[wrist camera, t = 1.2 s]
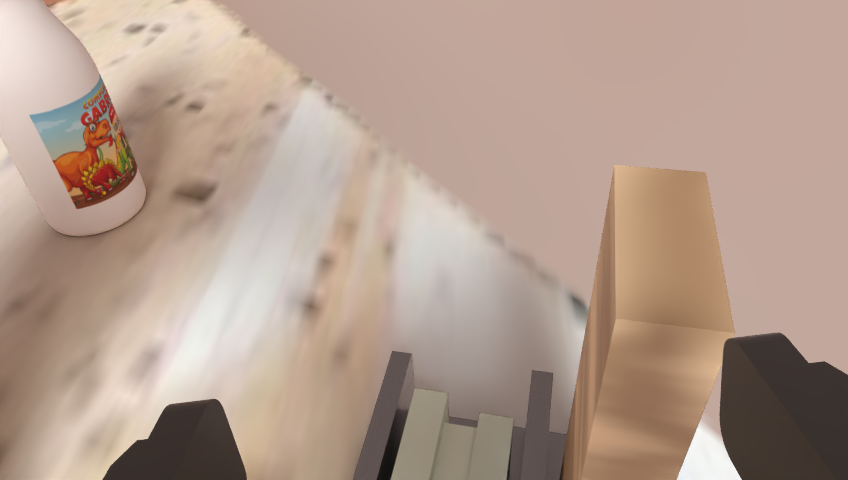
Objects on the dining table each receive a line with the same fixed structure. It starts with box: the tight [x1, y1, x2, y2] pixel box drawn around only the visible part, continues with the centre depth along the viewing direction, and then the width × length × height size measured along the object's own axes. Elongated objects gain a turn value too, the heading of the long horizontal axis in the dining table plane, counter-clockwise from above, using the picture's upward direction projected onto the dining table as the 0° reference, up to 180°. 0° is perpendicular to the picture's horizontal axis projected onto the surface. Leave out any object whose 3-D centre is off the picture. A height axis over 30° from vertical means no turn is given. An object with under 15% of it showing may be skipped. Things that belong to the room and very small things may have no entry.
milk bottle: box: [0, 0, 146, 236], centre depth 47 cm, size 8×8×20 cm
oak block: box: [559, 165, 735, 480], centre depth 23 cm, size 2×6×20 cm, turn 168°
